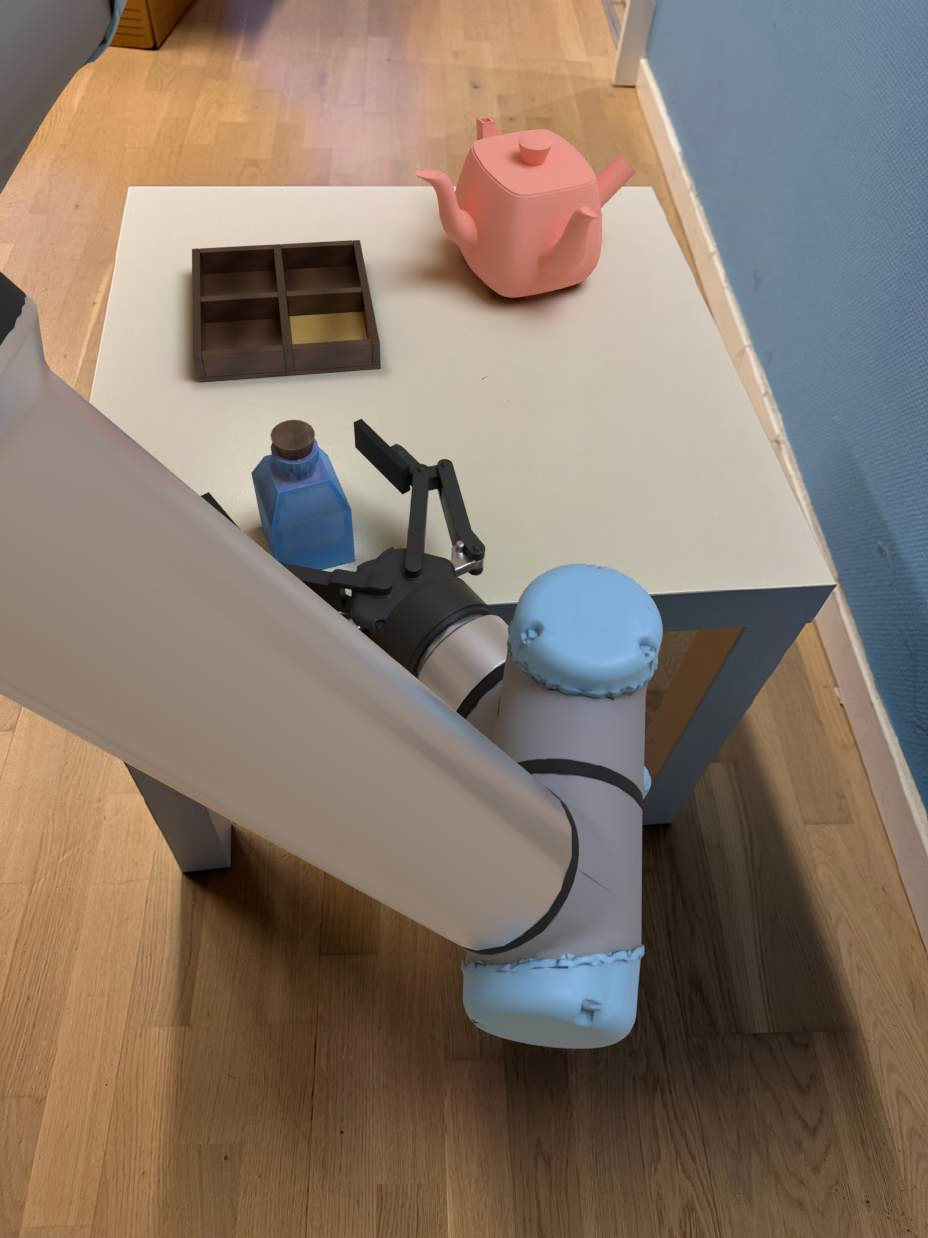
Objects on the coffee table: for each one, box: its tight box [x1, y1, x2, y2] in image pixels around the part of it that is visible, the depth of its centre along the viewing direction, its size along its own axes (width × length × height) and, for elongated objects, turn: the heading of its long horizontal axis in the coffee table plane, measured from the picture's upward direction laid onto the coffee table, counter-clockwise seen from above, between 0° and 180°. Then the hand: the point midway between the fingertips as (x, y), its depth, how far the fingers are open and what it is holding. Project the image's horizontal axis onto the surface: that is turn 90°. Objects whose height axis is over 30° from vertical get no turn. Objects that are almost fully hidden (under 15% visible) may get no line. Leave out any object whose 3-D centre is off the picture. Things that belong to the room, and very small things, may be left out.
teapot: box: [414, 115, 637, 299], centre depth 93 cm, size 18×18×14 cm
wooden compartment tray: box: [191, 239, 382, 383], centre depth 90 cm, size 17×17×3 cm
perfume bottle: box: [250, 419, 356, 570], centre depth 69 cm, size 6×6×12 cm
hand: (285, 468), depth 69 cm, fingers open, 13 cm apart
